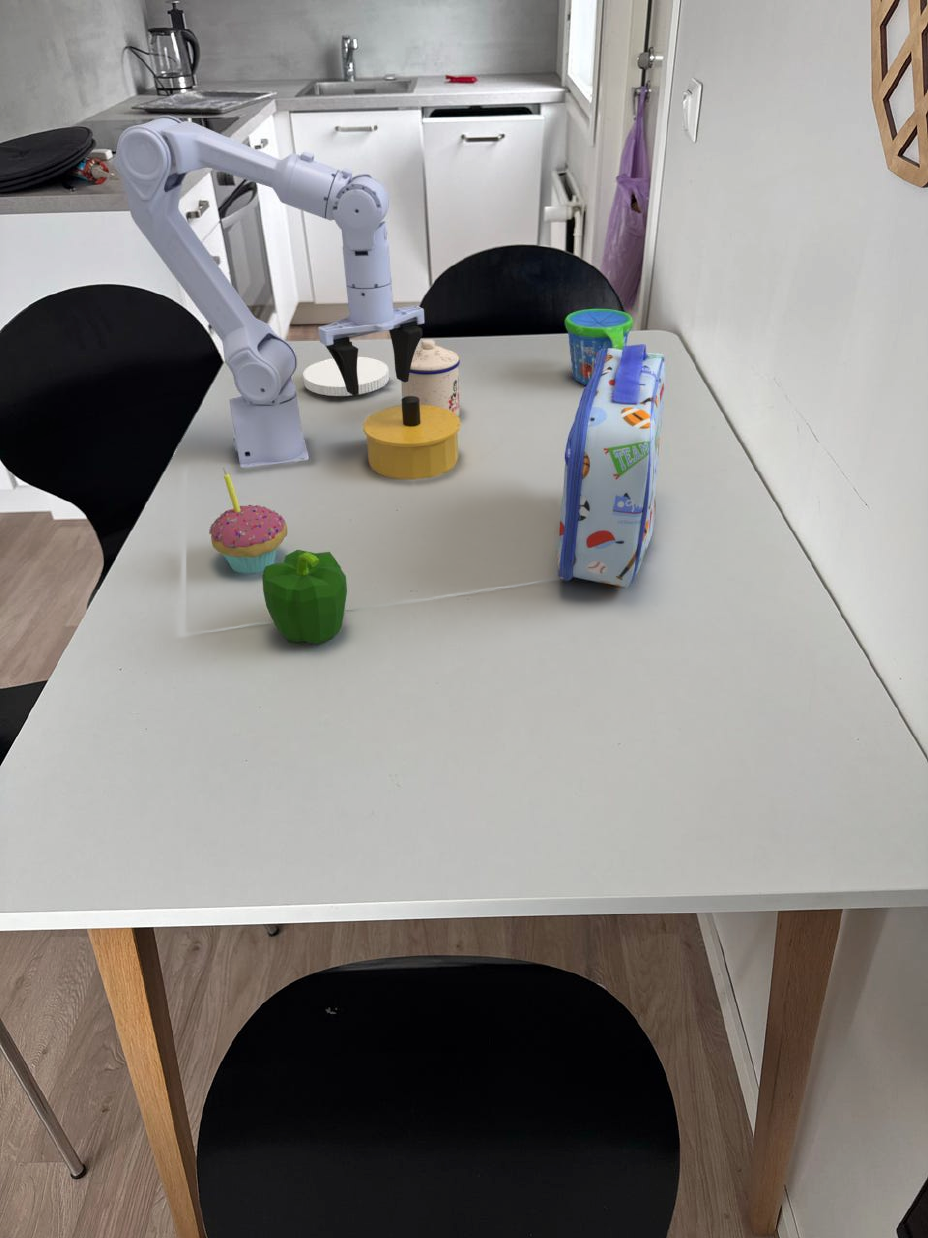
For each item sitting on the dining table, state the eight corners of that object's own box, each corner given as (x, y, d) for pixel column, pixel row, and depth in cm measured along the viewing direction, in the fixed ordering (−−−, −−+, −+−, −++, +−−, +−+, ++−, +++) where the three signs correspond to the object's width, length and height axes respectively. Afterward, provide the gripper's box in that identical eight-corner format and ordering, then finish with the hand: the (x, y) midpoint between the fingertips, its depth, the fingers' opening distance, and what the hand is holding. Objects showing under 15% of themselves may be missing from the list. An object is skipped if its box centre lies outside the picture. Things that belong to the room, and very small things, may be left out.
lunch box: (576, 487, 124) (584, 319, 112) (656, 493, 122) (674, 322, 110) (548, 602, 102) (555, 408, 90) (646, 611, 100) (667, 414, 88)
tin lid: (371, 456, 122) (368, 423, 120) (357, 417, 133) (354, 386, 130) (470, 444, 125) (470, 411, 122) (448, 407, 135) (447, 376, 133)
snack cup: (550, 366, 162) (552, 306, 156) (609, 360, 163) (613, 300, 158) (580, 399, 149) (583, 335, 143) (643, 392, 151) (648, 329, 145)
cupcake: (201, 574, 108) (181, 479, 101) (248, 541, 114) (232, 449, 108) (261, 592, 105) (244, 495, 98) (306, 557, 111) (293, 463, 104)
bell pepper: (264, 618, 101) (249, 536, 95) (339, 602, 103) (329, 521, 97) (279, 663, 94) (265, 578, 88) (359, 644, 96) (350, 560, 91)
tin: (377, 487, 125) (374, 450, 122) (363, 450, 135) (360, 414, 132) (466, 476, 128) (465, 439, 125) (446, 440, 137) (445, 405, 134)
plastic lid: (298, 377, 160) (296, 362, 159) (379, 366, 163) (377, 352, 162) (312, 406, 149) (310, 391, 148) (398, 395, 152) (397, 379, 151)
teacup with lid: (463, 426, 141) (461, 349, 135) (402, 429, 141) (397, 352, 134) (457, 396, 151) (455, 323, 145) (400, 399, 151) (395, 326, 144)
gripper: (331, 300, 114) (343, 408, 121) (434, 278, 120) (439, 382, 128) (306, 287, 118) (319, 392, 126) (406, 267, 125) (412, 368, 132)
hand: (378, 386), depth 127 cm, fingers open, 7 cm apart
